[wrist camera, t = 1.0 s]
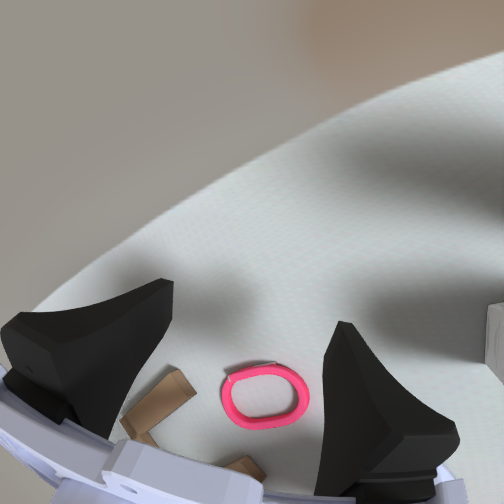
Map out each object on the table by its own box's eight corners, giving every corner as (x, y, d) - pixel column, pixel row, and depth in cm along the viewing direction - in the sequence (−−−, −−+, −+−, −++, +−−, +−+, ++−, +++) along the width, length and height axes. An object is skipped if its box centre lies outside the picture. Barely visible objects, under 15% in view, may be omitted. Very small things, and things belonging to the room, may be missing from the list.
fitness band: (297, 352, 23) (291, 357, 21) (319, 414, 21) (314, 422, 20) (218, 373, 26) (208, 378, 24) (239, 428, 24) (230, 434, 23)
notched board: (266, 476, 22) (260, 484, 21) (194, 502, 26) (186, 508, 24) (179, 369, 27) (169, 372, 26) (127, 417, 31) (119, 420, 29)
